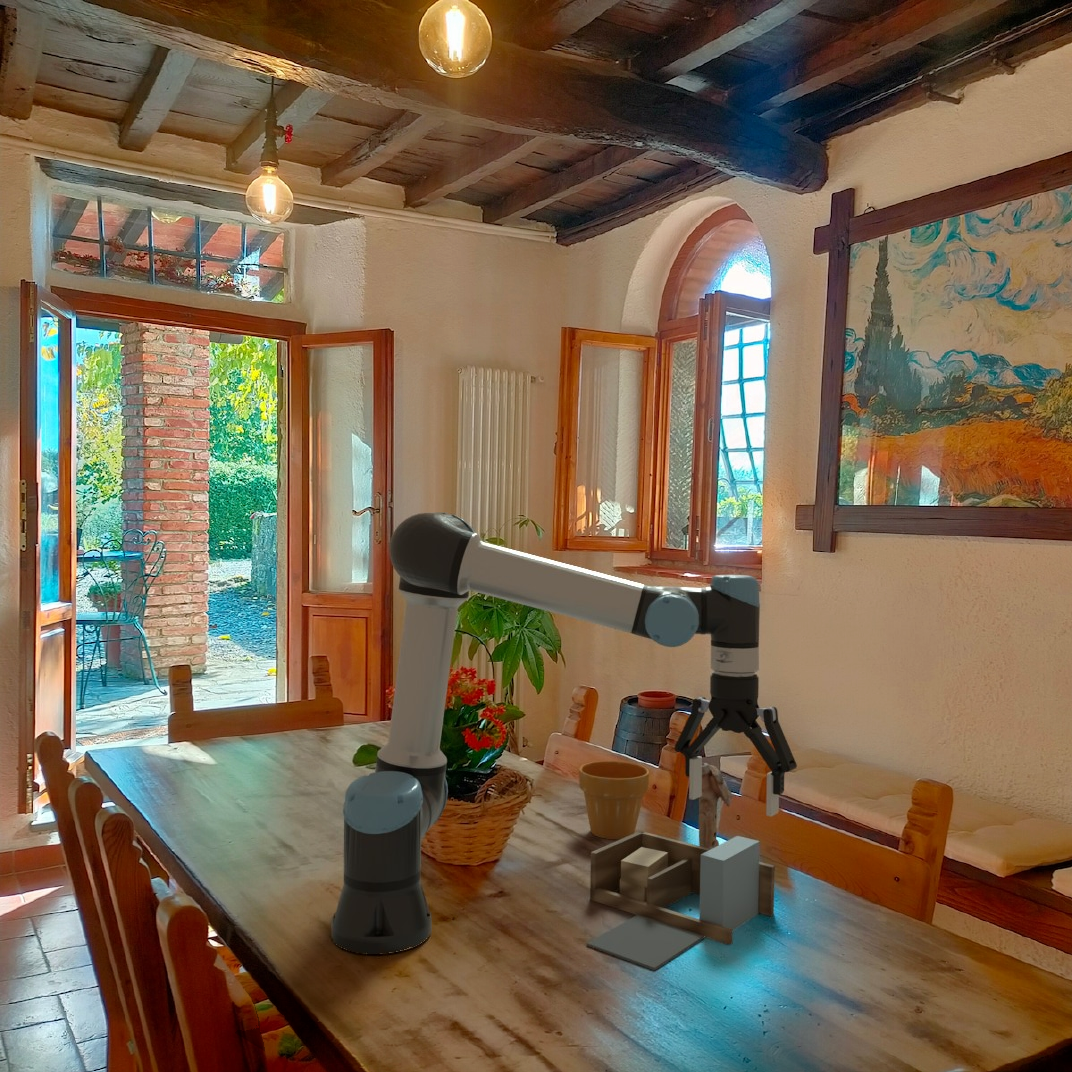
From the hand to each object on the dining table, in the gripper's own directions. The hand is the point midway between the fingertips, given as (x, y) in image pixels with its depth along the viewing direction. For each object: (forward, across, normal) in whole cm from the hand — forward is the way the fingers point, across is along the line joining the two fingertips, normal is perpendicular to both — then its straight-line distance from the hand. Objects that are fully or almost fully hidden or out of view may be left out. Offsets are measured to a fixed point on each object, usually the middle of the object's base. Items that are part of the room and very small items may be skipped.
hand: (732, 805), depth 154 cm
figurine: (+19, -12, +18) cm, 29 cm away
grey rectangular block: (+19, 0, 0) cm, 19 cm away
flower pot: (+19, -39, +23) cm, 49 cm away
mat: (+18, -6, -15) cm, 25 cm away
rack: (+19, -9, 0) cm, 21 cm away
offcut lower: (+19, -16, 0) cm, 25 cm away
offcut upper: (+15, -16, 0) cm, 22 cm away
